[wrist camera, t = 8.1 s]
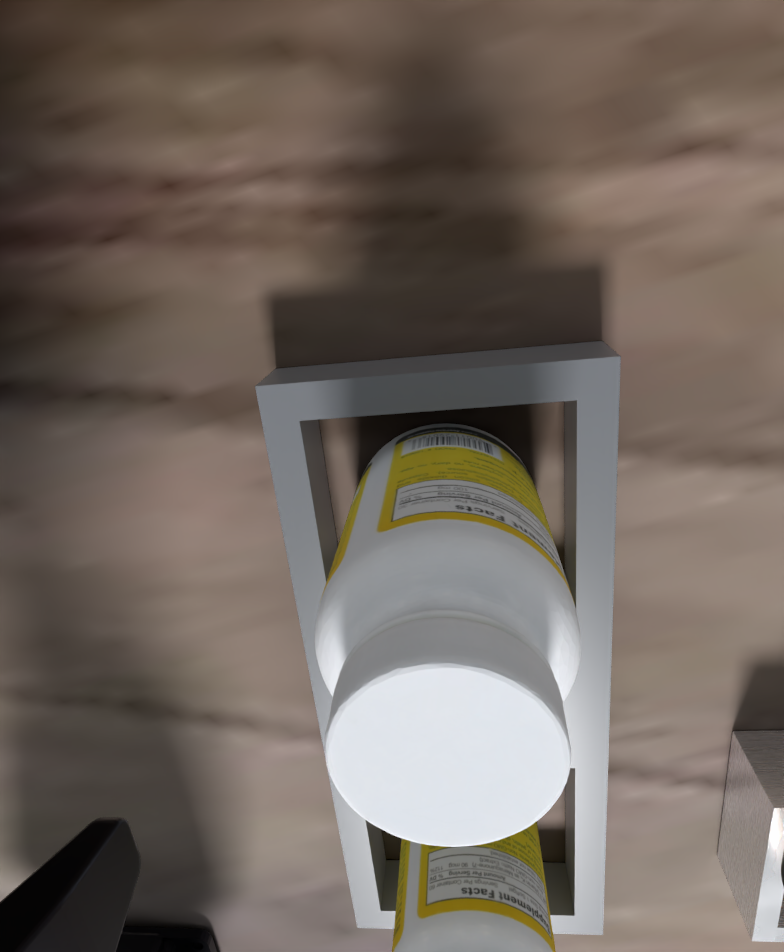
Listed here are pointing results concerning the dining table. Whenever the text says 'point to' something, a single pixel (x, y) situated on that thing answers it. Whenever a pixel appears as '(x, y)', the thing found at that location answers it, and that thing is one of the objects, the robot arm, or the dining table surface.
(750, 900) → the button console
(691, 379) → the dining table surface
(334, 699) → the supplement bottle
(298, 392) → the bottle holder
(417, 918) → the supplement bottle
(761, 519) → the dining table surface
